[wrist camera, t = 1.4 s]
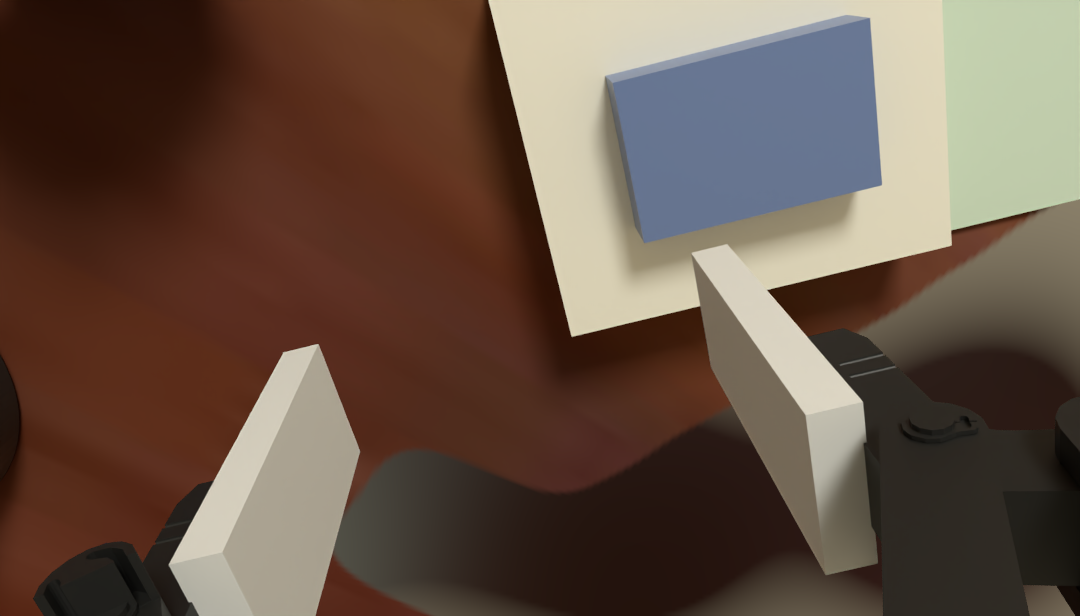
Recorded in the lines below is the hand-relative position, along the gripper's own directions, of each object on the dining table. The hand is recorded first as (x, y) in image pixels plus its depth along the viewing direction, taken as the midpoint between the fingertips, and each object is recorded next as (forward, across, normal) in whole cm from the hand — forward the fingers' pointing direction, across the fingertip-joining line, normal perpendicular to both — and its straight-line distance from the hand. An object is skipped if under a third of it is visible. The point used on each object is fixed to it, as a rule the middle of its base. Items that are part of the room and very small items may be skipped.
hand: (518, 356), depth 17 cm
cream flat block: (+19, +9, 0) cm, 21 cm away
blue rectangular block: (+15, +9, 0) cm, 18 cm away
